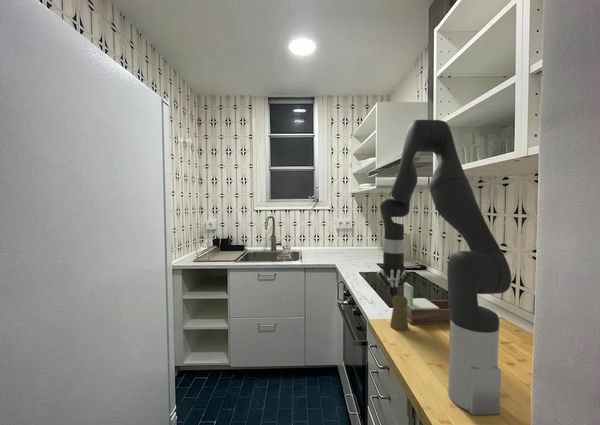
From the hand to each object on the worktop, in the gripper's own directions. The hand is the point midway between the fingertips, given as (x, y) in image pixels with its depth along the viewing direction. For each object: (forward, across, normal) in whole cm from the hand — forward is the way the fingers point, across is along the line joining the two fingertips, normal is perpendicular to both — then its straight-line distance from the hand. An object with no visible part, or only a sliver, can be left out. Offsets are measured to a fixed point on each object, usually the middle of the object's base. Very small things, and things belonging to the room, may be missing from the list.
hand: (392, 296), depth 110 cm
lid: (+3, +10, 0) cm, 11 cm away
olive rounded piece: (+9, -1, -8) cm, 12 cm away
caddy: (+9, +17, 0) cm, 19 cm away
